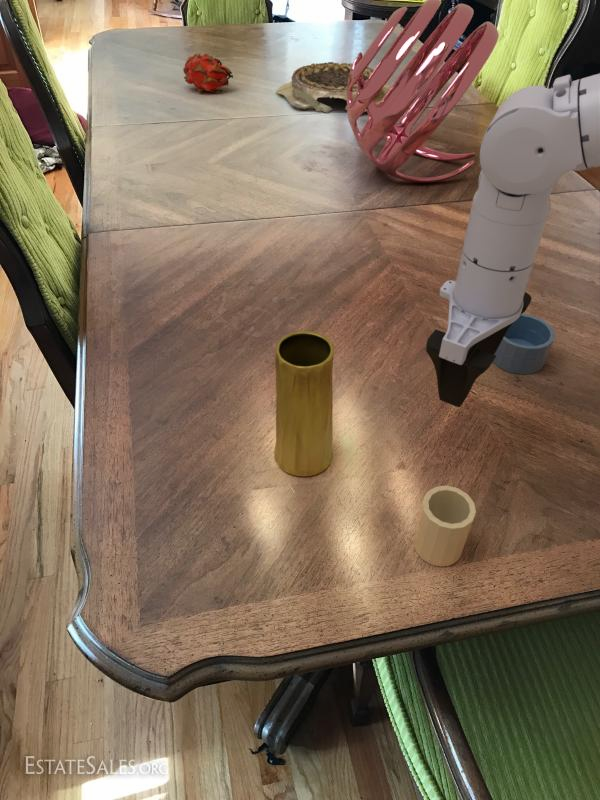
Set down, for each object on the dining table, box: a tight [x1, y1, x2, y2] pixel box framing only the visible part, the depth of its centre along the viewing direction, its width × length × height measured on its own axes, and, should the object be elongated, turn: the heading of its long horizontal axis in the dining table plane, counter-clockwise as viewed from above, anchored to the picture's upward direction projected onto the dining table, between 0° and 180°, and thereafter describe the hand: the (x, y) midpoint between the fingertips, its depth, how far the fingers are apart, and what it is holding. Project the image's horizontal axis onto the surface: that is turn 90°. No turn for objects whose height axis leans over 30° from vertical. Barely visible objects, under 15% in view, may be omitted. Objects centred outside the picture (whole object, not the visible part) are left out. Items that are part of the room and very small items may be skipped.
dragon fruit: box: [182, 53, 234, 94], centre depth 143 cm, size 8×8×12 cm
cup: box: [413, 484, 477, 568], centre depth 54 cm, size 4×4×6 cm
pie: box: [275, 61, 392, 114], centre depth 142 cm, size 28×27×5 cm
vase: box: [273, 330, 335, 477], centre depth 59 cm, size 6×6×14 cm
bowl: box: [492, 313, 556, 375], centre depth 74 cm, size 7×7×4 cm
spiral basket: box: [346, 0, 500, 184], centre depth 106 cm, size 28×28×27 cm
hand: (466, 378), depth 59 cm, fingers open, 7 cm apart
